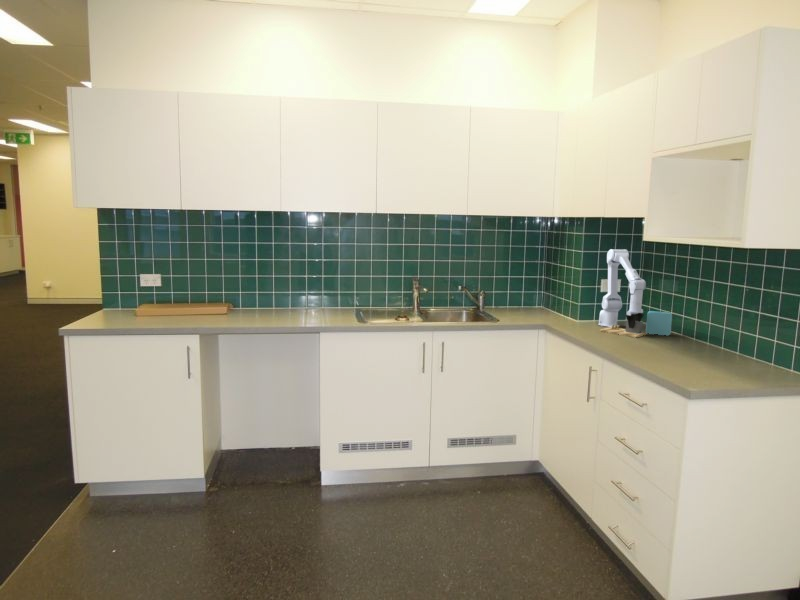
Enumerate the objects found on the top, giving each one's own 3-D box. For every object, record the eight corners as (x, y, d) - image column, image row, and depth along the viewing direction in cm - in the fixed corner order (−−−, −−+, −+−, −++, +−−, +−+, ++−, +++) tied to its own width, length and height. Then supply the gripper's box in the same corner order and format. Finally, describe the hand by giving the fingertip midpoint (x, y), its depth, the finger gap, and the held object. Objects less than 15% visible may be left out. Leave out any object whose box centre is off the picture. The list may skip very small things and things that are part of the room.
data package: (670, 334, 292) (672, 312, 291) (670, 336, 288) (672, 313, 286) (645, 332, 297) (647, 310, 295) (645, 333, 293) (647, 311, 291)
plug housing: (625, 331, 292) (626, 320, 291) (628, 330, 294) (629, 319, 293) (638, 333, 286) (639, 322, 286) (641, 333, 289) (642, 321, 288)
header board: (599, 331, 297) (600, 325, 296) (611, 328, 305) (611, 322, 305) (635, 337, 282) (636, 331, 281) (647, 334, 291) (647, 328, 290)
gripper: (637, 304, 280) (634, 330, 282) (649, 302, 290) (647, 327, 292) (623, 302, 285) (621, 328, 287) (636, 300, 295) (634, 325, 297)
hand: (633, 327), depth 290 cm, fingers open, 5 cm apart
